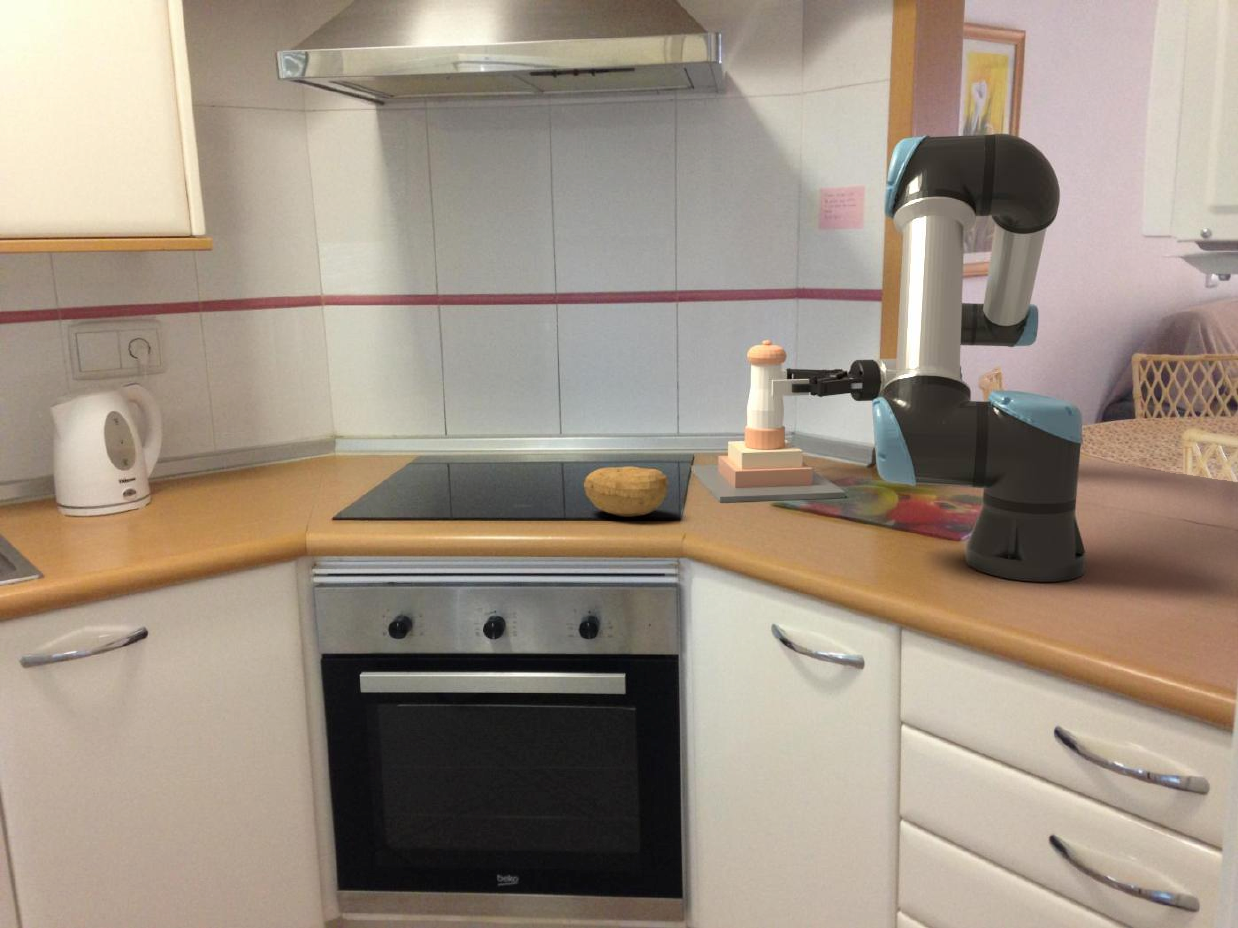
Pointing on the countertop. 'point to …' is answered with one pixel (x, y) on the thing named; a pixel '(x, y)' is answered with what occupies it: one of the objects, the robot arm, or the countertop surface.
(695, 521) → the countertop surface
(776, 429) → the pepper shaker
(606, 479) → the potato
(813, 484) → the stacked blocks on tray
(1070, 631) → the countertop surface
